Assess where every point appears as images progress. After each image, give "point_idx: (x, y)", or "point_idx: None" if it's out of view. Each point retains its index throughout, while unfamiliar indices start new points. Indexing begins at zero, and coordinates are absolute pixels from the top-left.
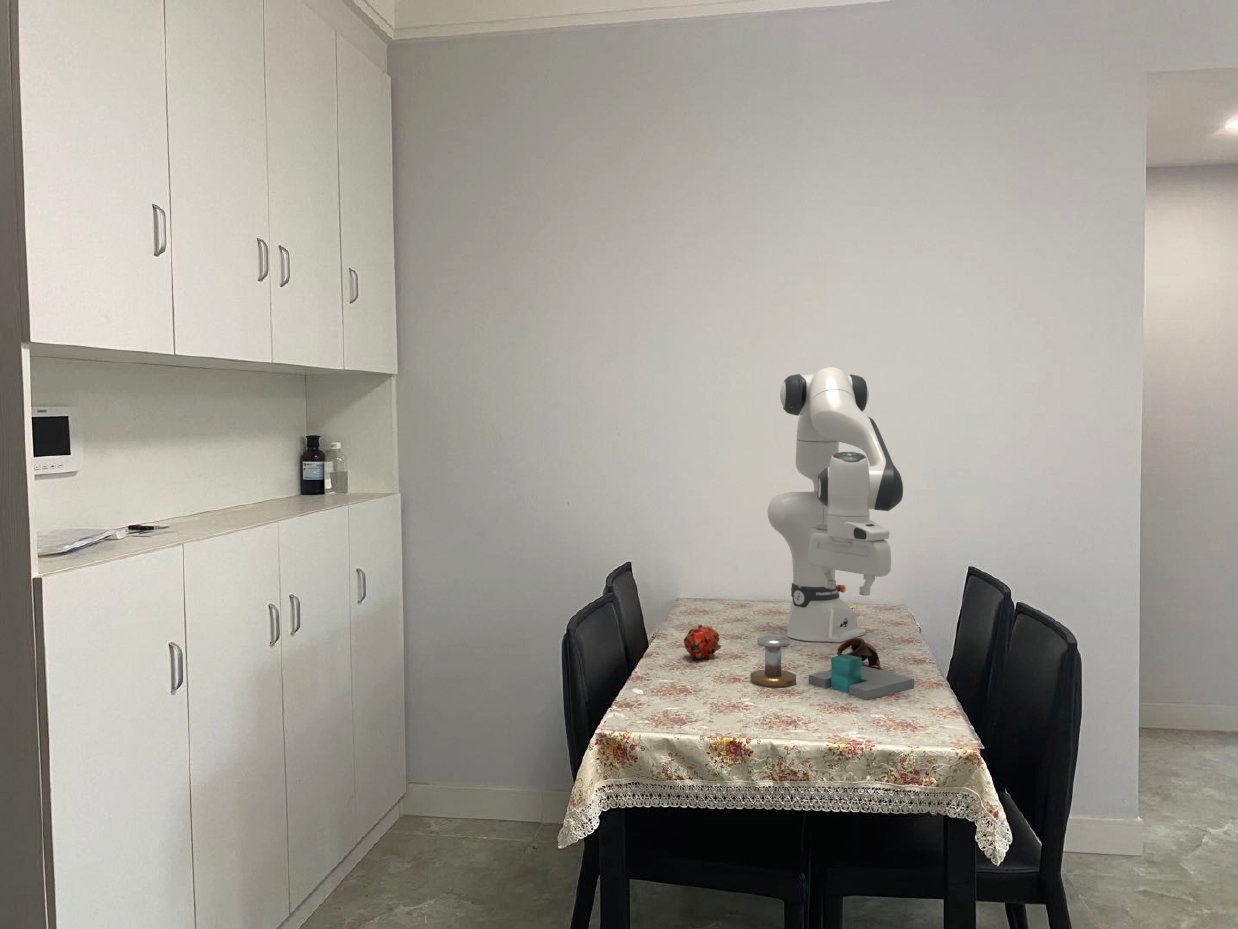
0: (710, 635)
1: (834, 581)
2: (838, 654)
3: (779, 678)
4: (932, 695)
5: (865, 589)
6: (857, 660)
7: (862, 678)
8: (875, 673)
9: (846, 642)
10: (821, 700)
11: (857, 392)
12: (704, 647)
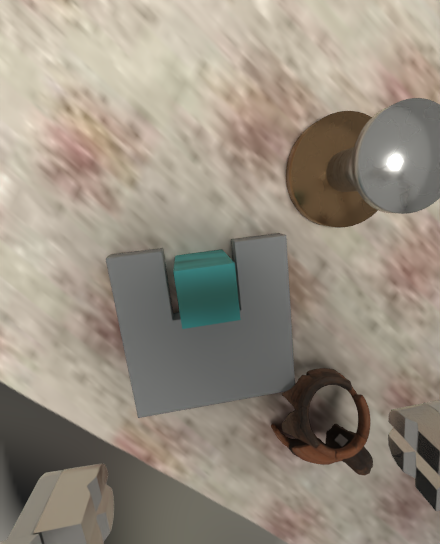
0: None
1: (432, 491)
2: (339, 378)
3: (313, 163)
4: (77, 399)
5: (18, 526)
6: (180, 311)
7: None
8: (213, 374)
9: (363, 428)
10: (159, 163)
11: None
12: None
